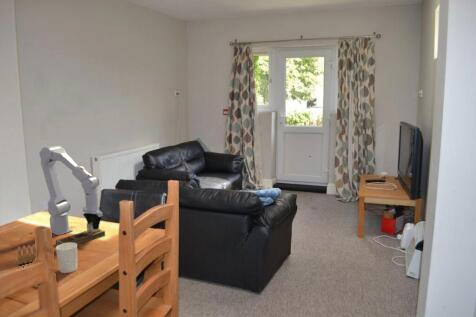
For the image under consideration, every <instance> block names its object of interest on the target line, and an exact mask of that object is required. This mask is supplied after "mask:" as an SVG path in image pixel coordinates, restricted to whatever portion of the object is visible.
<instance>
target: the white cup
mask: <svg viewBox="0 0 476 317" xmlns="http://www.w3.org/2000/svg"><path fill="white" fill-rule="evenodd" d="M55 252H56V258H57V265H58V270H59V273H62V274H67V273H68V274H69V273H73V272H75V271H77V270H78V244H76V243H66V242H65V243H63V244H60V245H56V246H55Z"/></svg>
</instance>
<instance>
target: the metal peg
mask: <svg viewBox="0 0 476 317" xmlns="http://www.w3.org/2000/svg"><path fill="white" fill-rule="evenodd" d="M99 229H100V227H99V228H98V229H94V227H93V222H90V223H86V230H87V232H89V233H91V234H94V233H97V232H99Z"/></svg>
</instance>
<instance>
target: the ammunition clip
mask: <svg viewBox="0 0 476 317" xmlns="http://www.w3.org/2000/svg"><path fill="white" fill-rule="evenodd" d="M31 248H32V249H31ZM36 252H37V248H36V245H35V244H34V243H32V247H31V245H30V244H28V245H27V249H26V246H25V245H22V249H21V247H20V246H17V264H18V265H17V266H22V265H25V264H29V263H32V262H33V261H34V260H35V258H36Z"/></svg>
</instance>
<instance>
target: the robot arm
mask: <svg viewBox="0 0 476 317" xmlns="http://www.w3.org/2000/svg"><path fill="white" fill-rule="evenodd" d="M38 154H39V157H40V165H41V168H42V173H43V177H44V179H45V183H46V186H47V190H48V194H49V196H50V198H49V200H48V201H47V206H48V208H47V211H48V214H49V215H50V217H49V227H50V228H51V229H50V228H49V229H50V230H52V232H51V234H54V235H57V236H60V235H64V234H66V233H69V232H73V229H71V228H70V226H69V224H70V223H69V215H68V214H69V211H70V210H71V203H70V202H69V200H68V197H67V196H65V195H63V193H62V189H61V186H60V182H59V178H58V175H57V171H56V169H55V164H56V162H61V163H62V164H64V165H65V166H66V167H67V168H68V169H69V170H71V171H72V172H71V174H72V175H73V177H74V178H75V179H76V180H78V181H79V182H80V183H81V185H80V186H81V188H82V189H83V192H84V196H85V198H84V199H85V206H84V207H82V212H83V214H82V215H83V216H84V218H85V221H86V222H87V223H90V222H93V227H94V229H98V228H99V229H100V223H101V220H102V218H103V217H104V215H103V212H102V210H100V208H99V197H98V196H99V195H98V194H99V193H98V187H99V185H100V179H99V178H98V177H97V176H96V175H92V174H91V173H90V172H88V171H87V170H86V168H85V167H84V166H81V165H78V164H77V163H76V162H75V161H74V160H73V158H71V157H70V156H69V154H67V152H66V149H65V148H64V147H63V146H62V145H61V144H56V145H51V146H45V147H42V148H41V150H40V151H39V153H38ZM87 223H86V224H87Z"/></svg>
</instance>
